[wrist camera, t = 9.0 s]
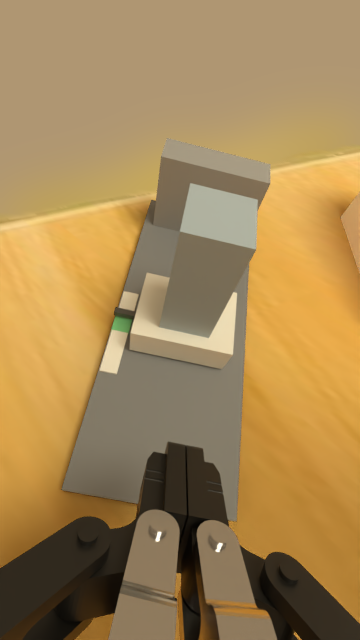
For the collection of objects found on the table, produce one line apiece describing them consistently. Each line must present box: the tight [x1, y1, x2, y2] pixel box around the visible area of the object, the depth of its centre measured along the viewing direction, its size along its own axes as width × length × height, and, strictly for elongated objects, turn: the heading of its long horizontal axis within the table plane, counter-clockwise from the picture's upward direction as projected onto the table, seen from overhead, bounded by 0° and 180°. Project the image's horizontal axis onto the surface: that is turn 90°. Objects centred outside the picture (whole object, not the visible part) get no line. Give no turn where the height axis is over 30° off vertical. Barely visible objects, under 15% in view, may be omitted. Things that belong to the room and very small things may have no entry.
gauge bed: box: [61, 138, 270, 522], centre depth 26 cm, size 12×30×10 cm, turn 171°
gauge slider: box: [114, 183, 258, 369], centre depth 25 cm, size 10×14×13 cm
